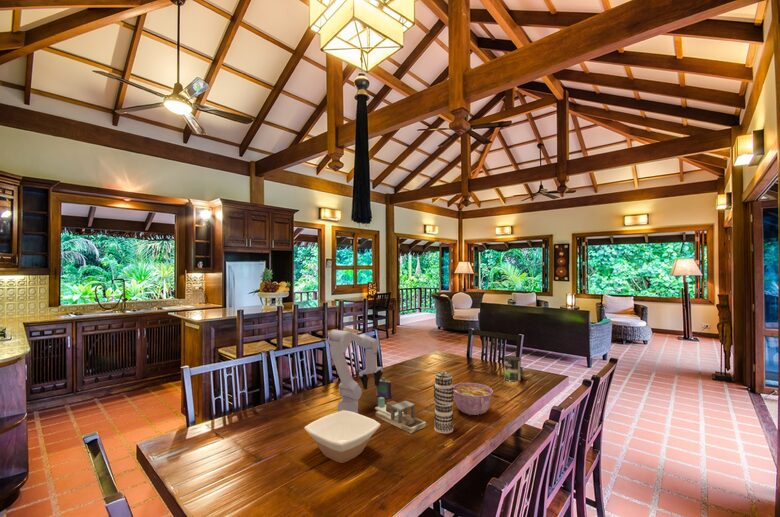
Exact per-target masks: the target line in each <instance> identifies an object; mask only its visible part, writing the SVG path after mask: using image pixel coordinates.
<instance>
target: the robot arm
mask: <svg viewBox="0 0 780 517" xmlns="http://www.w3.org/2000/svg"><path fill="white" fill-rule="evenodd" d="M327 341H328V343H329V349H330V356H331V358H332V361H333V363H334V366H335V368H336V371H337V374H338V377H339V379H340V383H339V384H338V389H339V395H340V397H341V400H340V401H339V402H338V403H337V412H339V411H343V410H346V411H351V412H354V413H357V414H359V399H360V398H361V396H362V392H363V390H368V383H369V382H368V381H369V376H367V375H370V374H373V378H374V386H375V387H376V386H378V385H379V381H380V380H381V379H382V376H383V374H384V373H383V370H384V369H383V368H384V367H383V366H377V363H378V362H377V360H378V358H377V356H378V355H377V354H378V351H379V350H378V349H379V346H380V342H379V340H378V339H377V338H374V337H373V338H372V336H370V335H367V334H366V333H362V334H361V333H360V334H357V333H355V332H352V331H349V330H341V329H335V328H334V329H331V331H330V332H329V334H328V337H327ZM351 342H356V344H357V345H358V346H361V347H363V348H364V349H365V369H362V370H361V371H359V372H358V377H359V379H360V381H361V383H362V387H363V390H362V387H361V386H360V385H359V383H358V382H357V381H356V380H354V379H353V375H352V373H351V371H350V368H349V365H348V363H347V360H346V359H347V358H346V357H345V354H344V353H345V352H347V350H348V348H349V346H350V344H351Z"/></svg>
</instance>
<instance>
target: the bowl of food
mask: <svg viewBox="0 0 780 517" xmlns="http://www.w3.org/2000/svg"><path fill="white" fill-rule="evenodd" d="M453 388H454V390H453V391H454V393H453V394H452V395H453V396H454V397H453V399H454V402H455V405H456V407H457V409H458V410H460V411H461V412H462V413H464V414H465V413H466V415H467V414H468V416H471V415H478V416H480V415H482V414H484V413H486V412H488V410H489V409H490V405H491V402H492V397H493V393H494V390H493V389H492V388H491V387H490V386H488V385H486V384H482V383H477V382H476V383H475V382H461V383H456V384H455V385H454V384H453ZM479 414H480V415H479Z"/></svg>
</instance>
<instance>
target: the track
mask: <svg viewBox="0 0 780 517" xmlns="http://www.w3.org/2000/svg"><path fill="white" fill-rule="evenodd" d="M409 408H411V409H410V414H411V415H410V414H409V413H408V409H409ZM395 409H397V410H398V417H395ZM402 412H404V414H403V415H402ZM375 417H376V418H378V419H380V420H383V421H385V422H387V423H388V424H391V425H392V426H395V427H396V428H399V429H401V430H402V431H405V432H407V433H409V434H412V433H415V432H418V431H420V430H421V429H424V428H426V427H427V422H426V421H425V420H422V419H420V418H418V417H416V403H414V402H410V401H408V400H403V401H401V402H397V404H395V405H392V406H391V416H389V415H387V414H384V413H382V412H380V411H378V410H376V411H375Z"/></svg>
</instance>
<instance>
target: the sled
mask: <svg viewBox="0 0 780 517" xmlns="http://www.w3.org/2000/svg"><path fill="white" fill-rule="evenodd" d="M374 410H376V411H380V412H382V413H384V414H387V415H389V416H391V413H389V412H387V411H386V398H384V397H377V406H375V407H374ZM403 414H404V411H402V415H403ZM395 417H398V411H397V412H395Z"/></svg>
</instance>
